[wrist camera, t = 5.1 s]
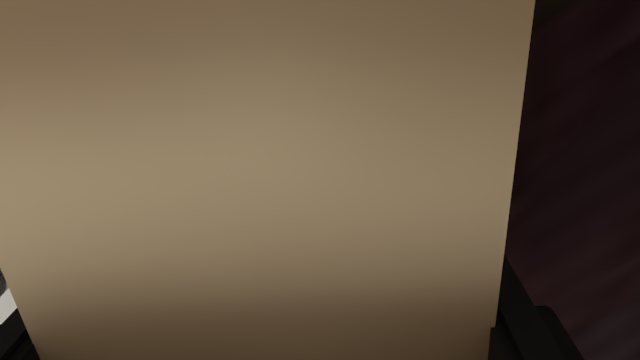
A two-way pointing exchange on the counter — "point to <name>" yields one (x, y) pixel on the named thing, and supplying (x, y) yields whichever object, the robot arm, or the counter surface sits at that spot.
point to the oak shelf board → (259, 175)
